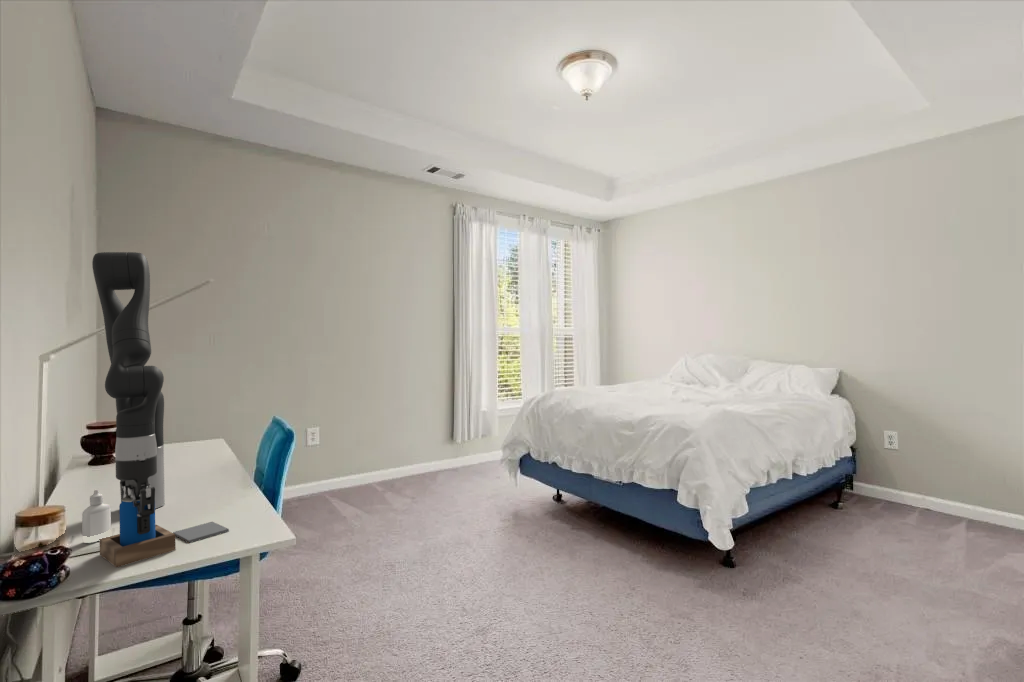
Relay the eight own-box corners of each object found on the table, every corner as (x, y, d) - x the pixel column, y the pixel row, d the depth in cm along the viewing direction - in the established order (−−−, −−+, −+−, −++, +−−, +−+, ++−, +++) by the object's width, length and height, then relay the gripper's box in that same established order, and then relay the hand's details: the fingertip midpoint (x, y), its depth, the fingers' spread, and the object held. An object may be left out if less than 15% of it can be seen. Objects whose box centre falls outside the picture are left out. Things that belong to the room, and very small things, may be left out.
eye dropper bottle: (113, 538, 125) (112, 488, 125) (84, 545, 121) (83, 494, 121) (109, 534, 128) (108, 485, 128) (80, 541, 124) (79, 490, 124)
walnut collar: (99, 554, 115) (99, 539, 115) (156, 539, 124) (156, 524, 124) (116, 567, 109) (116, 550, 109) (175, 549, 118) (175, 534, 118)
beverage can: (150, 542, 121) (149, 490, 121) (159, 549, 117) (159, 496, 117) (116, 551, 116) (115, 497, 116) (125, 559, 112) (124, 503, 112)
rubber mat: (173, 534, 127) (173, 532, 127) (212, 523, 134) (212, 521, 134) (188, 542, 122) (188, 540, 122) (228, 531, 129) (228, 528, 129)
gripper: (105, 454, 118) (106, 527, 118) (127, 463, 109) (129, 542, 109) (143, 448, 124) (145, 518, 124) (168, 456, 115) (169, 531, 115)
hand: (137, 529), depth 117 cm, fingers closed on beverage can, 6 cm apart
